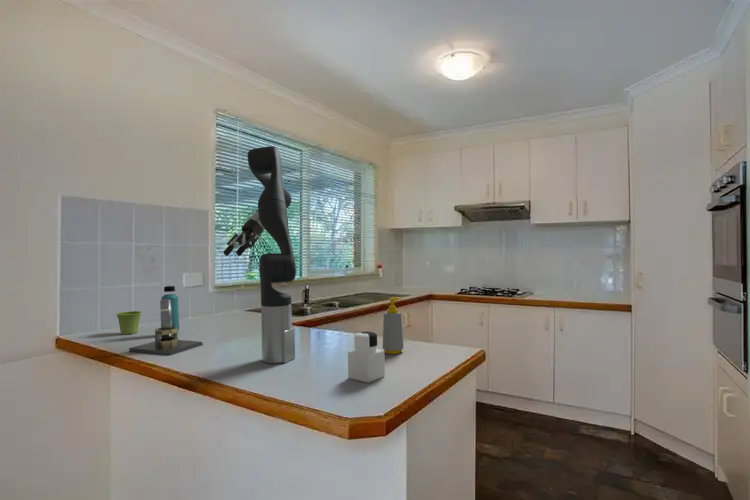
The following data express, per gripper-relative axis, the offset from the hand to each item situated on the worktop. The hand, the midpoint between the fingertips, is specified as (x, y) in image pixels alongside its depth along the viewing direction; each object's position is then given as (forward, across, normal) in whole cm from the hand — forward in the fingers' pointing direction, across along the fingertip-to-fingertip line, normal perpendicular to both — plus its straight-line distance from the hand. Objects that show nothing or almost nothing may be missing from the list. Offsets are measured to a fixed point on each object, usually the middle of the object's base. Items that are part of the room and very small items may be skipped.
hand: (231, 254), depth 164 cm
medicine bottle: (+27, +72, +19) cm, 79 cm away
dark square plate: (+38, -8, +8) cm, 40 cm away
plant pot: (+36, -48, +10) cm, 61 cm away
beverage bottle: (+30, -30, +16) cm, 46 cm away
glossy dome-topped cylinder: (+37, -8, +7) cm, 39 cm away
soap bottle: (+9, +61, +38) cm, 72 cm away
